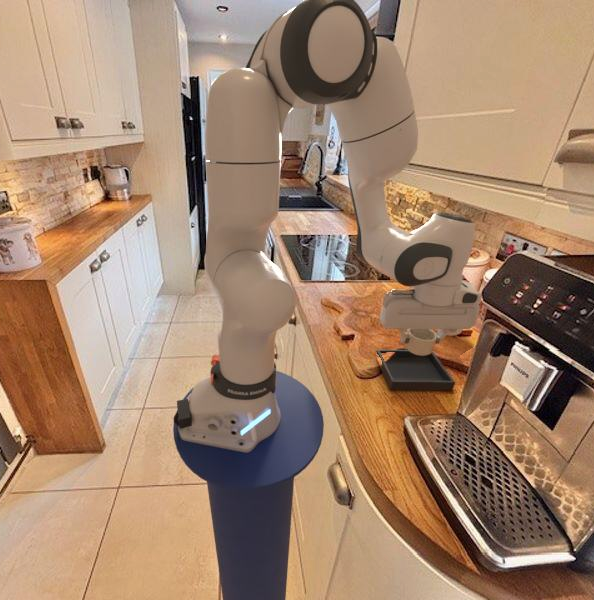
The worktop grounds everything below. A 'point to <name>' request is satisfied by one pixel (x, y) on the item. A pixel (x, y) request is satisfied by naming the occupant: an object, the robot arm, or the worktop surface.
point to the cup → (421, 341)
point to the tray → (415, 372)
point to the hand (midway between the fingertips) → (419, 342)
